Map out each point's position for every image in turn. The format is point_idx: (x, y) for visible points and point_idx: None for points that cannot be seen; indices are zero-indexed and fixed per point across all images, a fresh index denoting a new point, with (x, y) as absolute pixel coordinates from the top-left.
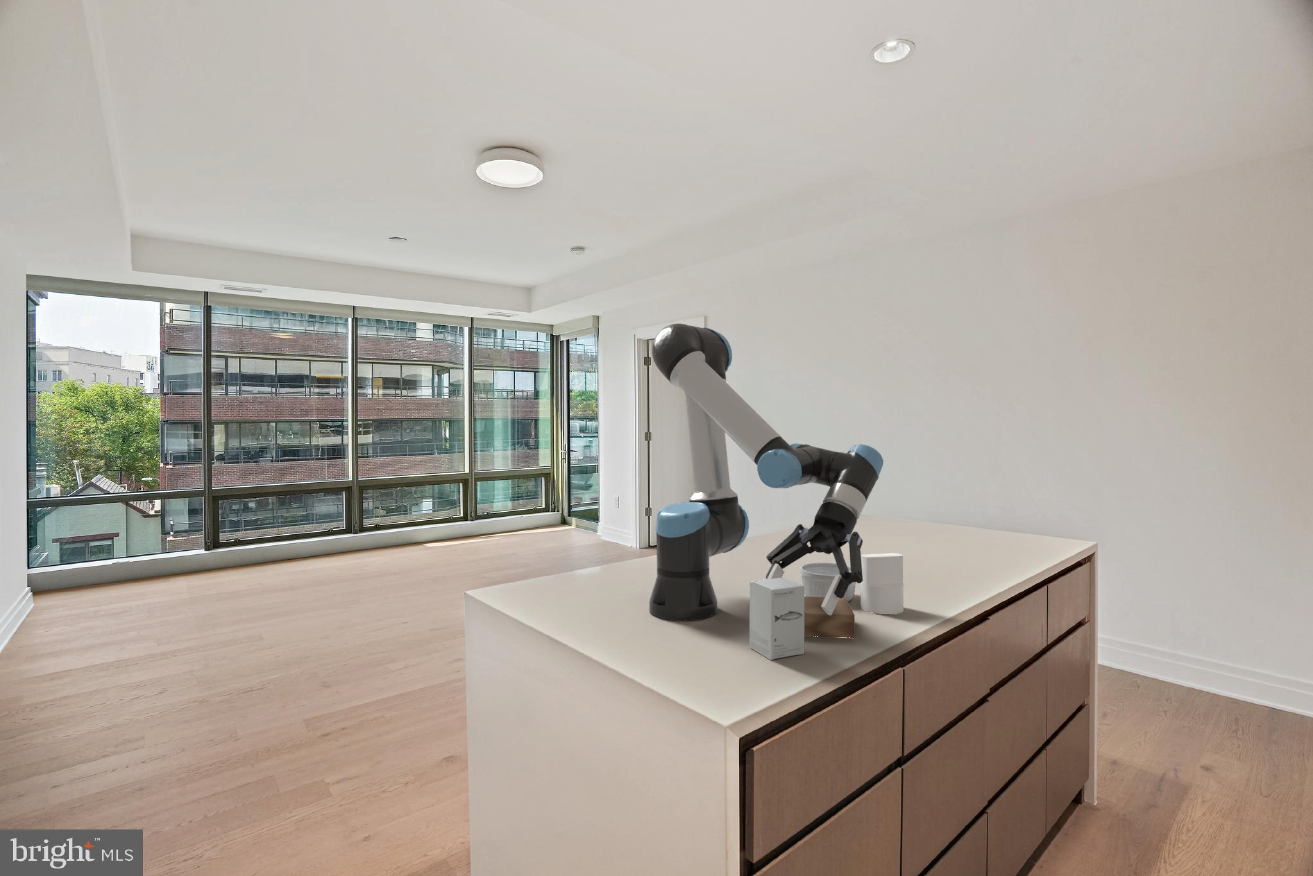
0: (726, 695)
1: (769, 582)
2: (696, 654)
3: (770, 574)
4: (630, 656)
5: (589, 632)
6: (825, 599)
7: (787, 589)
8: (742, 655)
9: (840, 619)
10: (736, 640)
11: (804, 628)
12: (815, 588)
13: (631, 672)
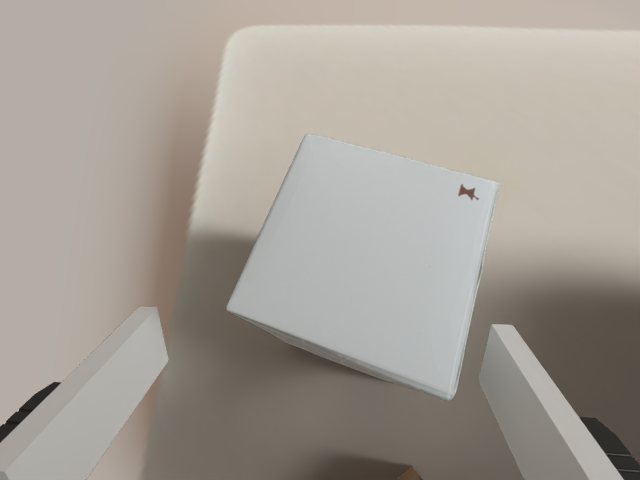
0: (286, 75)
1: (399, 216)
2: (474, 161)
3: (569, 417)
4: (550, 69)
5: None
6: (130, 330)
7: (271, 207)
8: None
9: None
10: (493, 301)
11: None
12: None
13: (474, 32)
